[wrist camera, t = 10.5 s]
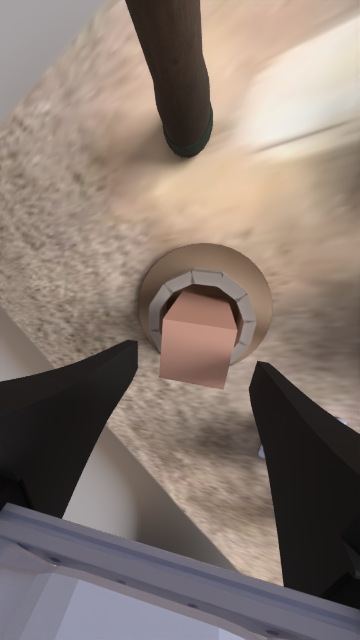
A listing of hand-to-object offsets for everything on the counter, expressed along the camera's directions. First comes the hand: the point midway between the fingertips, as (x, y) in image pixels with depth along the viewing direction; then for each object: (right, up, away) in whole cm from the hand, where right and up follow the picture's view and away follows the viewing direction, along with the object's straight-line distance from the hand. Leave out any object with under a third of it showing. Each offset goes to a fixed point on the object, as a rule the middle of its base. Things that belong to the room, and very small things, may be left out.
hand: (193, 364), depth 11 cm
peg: (+1, +3, +8) cm, 9 cm away
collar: (+2, +4, +9) cm, 10 cm away
